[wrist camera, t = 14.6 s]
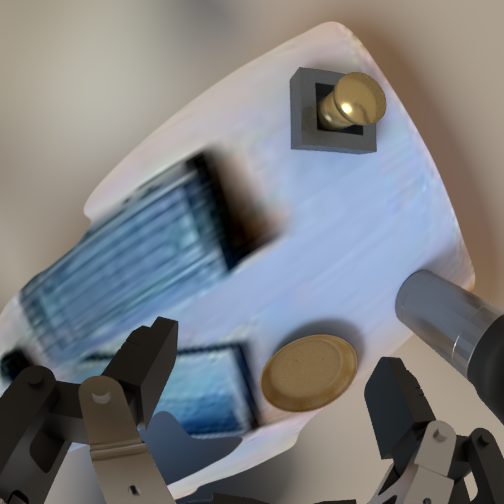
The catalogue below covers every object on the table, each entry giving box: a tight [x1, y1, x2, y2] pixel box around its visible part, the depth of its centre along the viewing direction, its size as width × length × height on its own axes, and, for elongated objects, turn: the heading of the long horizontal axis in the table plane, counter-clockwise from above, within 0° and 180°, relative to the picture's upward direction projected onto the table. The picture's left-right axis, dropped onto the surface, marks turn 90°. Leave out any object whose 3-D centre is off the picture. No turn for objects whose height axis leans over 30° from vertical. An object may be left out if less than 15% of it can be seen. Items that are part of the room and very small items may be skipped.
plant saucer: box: [260, 334, 358, 413], centre depth 39 cm, size 15×15×3 cm
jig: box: [290, 67, 377, 154], centre depth 30 cm, size 9×9×4 cm
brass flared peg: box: [316, 72, 386, 132], centre depth 26 cm, size 5×5×11 cm
